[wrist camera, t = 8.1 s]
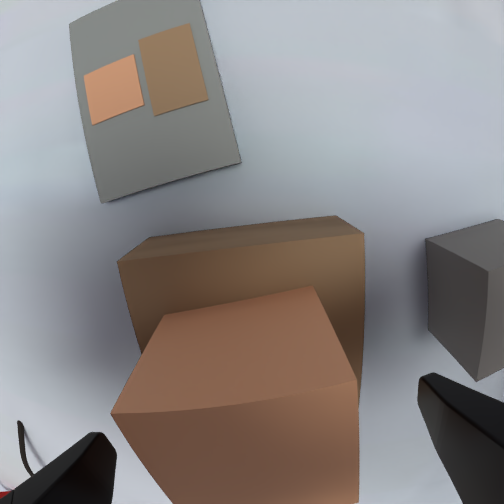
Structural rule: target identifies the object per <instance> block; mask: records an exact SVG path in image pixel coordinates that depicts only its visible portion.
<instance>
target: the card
mask: <svg viewBox="0 0 504 504" xmlns="http://www.w3.org/2000/svg"><path fill="white" fill-rule="evenodd" d="M69 29H70V41H71V51H72V60H73V68H74V76H75V83H76V89H77V96H78V102H79V108H80V114H81V119H82V124H83V129H84V134H85V139H86V144H87V149H88V153H89V158H90V162H91V166H92V171H93V175H94V179H95V183H96V187H97V190H98V194H99V198H100V202H101V204H102V203H105V202H108V201H111V200H114V199H117V198H120V197H123V196H126V195H129V194H133V193H136V192H139V191H142V190H145V189H148V188H152V187H155V186H158V185H161V184H165V183H168V182H172V181H175V180H178V179H182V178H185V177H189V176H192V175H196V174H200V173H203V172H207V171H211V170H215V169H218V168H222V167H226V166H230V165H234V164H238V163H242V162H241V158H240V154H239V150H238V146H237V142H236V138H235V134H234V130H233V126H232V122H231V119H230V115H229V111H228V107H227V103H226V99H225V95H224V91H223V87H222V83H221V79H220V76H219V72H218V68H217V64H216V60H215V56H214V52H213V49H212V45H211V41H210V37H209V33H208V30H207V26H206V22H205V18H204V14H203V11H202V7H201V3H200V0H118V1H116V2H113V3H111V4H109V5H106V6H104V7H102V8H100V9H98V10H95V11H93V12H91V13H89V14H87V15H85V16H83V17H81V18H79V19H77V20H75V21H73V22H72V23H70V24H69Z"/></svg>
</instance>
